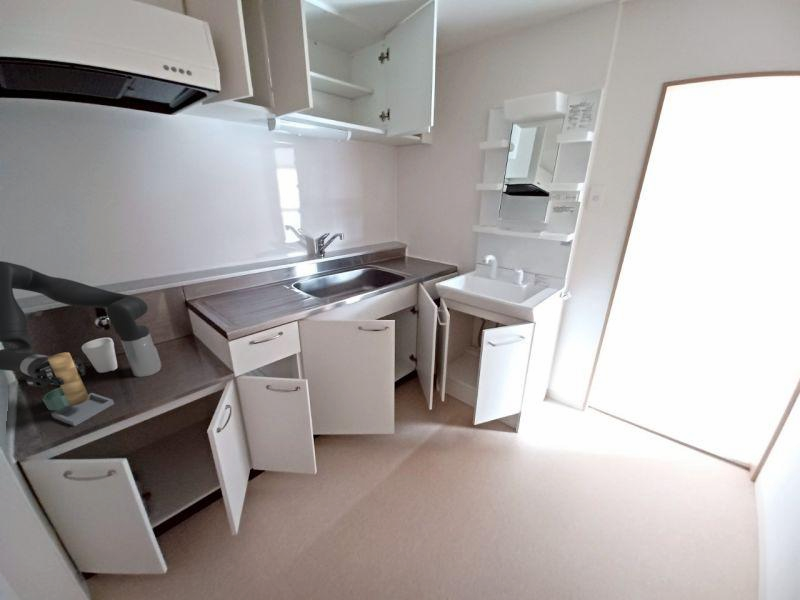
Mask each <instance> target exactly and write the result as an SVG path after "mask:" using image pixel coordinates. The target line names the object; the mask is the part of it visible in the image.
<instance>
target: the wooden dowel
mask: <svg viewBox="0 0 800 600" xmlns="http://www.w3.org/2000/svg"><path fill="white" fill-rule="evenodd" d="M48 361H49V363H50V365H51V367H52V369H53V372H54V374H55V376H56V377H58V378H61V379H62V380H63V382H64V384H63V385H59V386H60V388H62V390H63V392H64V395H65V397H66V399H67V401H68V403H69V405H78V404H81V403H83V402H85V401H87V400H88V399H89V396H88V395H89V394H88V391H87V389H86V387H85V384H84V382H83V381H82V378H81V375H79V373H78V371H77V369H76V366H75V364H74V362H73V361H74V359H73V358H72V355H71V353H70V352H60V353H59V352H58V353H56V354H54V355H53V354H52V355H50V356H49V358H48Z"/></svg>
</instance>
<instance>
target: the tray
mask: <svg viewBox="0 0 800 600" xmlns="http://www.w3.org/2000/svg"><path fill="white" fill-rule="evenodd" d="M88 396H89V399H88V400H87V401H85V402H83V403H81V404H78V405H67V406H65V407H63V408H61V409H59V410H54V412H53V411H52V413H50V414H51V417H52V418H53V419H55V420H58V421H60V422H63V423H66V424H68V425H71V426H74V427H76V426H78V425H79V424H82V423H83V422H85V421H86V420H88V419H90V418H92V417H93V416H95V415H97V414H99V413H101V412H103V411H104V410H106V409H108V408H110V407H111V406H113V405H114V404H115V402H114V399H112V398H109V397H106V396H103V395H99V394H97V393H94V392H90V393H89V394H88Z"/></svg>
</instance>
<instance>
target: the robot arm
mask: <svg viewBox="0 0 800 600" xmlns="http://www.w3.org/2000/svg"><path fill="white" fill-rule="evenodd" d="M13 289H14V290H22V291H29V292H34V293H37V294H41V295H43V296H45V297H47V298H49V299H50V300H53V301H54V302H56V303H57V302H58V303H61V304H64V305H68V306H72V307H79V308H106V314H107V317H108V320H109V323H111V327H112V329H113V330H114V332H115V334H116V335H117V336H118V337H119V338H120V339H119V340H120V341H121V344H122V347H123V349H124V351H125V355H126V357H127V361H128V364H129V366H130V369H131V370H132V373H133V376H135V377H138V378H140V377H141V378H142V377H146V376H149V377H150V376H153V375H154V374H156V373H158V372H159V371H160V370H161V368H162V362H161V358H160V355H159V352H158V348H157V346H155V345H154V342H153V339H152V335H151V333H150V330H149V328H148V326H146V325H143V324H141V325H140V324H138V325H137V322H136V320H138V319H140V318H141V317H143V316H144V315H145V314H146V313H147V312H148V309H149V308H148V304H147V303H146V302H145V301H144V300H143V299H141V298H140V297H137V296H134V295H129V294H126V293H119V292H113V291H109V290H106V289H103V288H98V287H95V286H92V285H88V284H85V283H82V282H79V281H75V280H72V279H67V278H62V277H55V276H50V275H48V274H45V273H42V272H40V271H37V270H35V269H32V268H30V267H27V266H25V265H22V264H21V265H20V264H17V263H14V262H13V263H12V262H8V261H2V260H1V261H0V343H7V344H13V345H15V346H16V347H15V348H13V347H12V348H2V349H0V370H1V371H12V372H19V373H23V374H25V375H27V376H28V378H26V379H25V380H26V382H27V385H28V386H29V387H37V388H39V387H40V388H46V387H47V386H49V385H55V386H60V385H63V384H64V382H63V380H62V379H61V378H58V377H56V376H55V374H54V372H53V369H52V367H51V365H50V363H49V361H48V358H49V357H50V356H49V355H45V354H44V355H43V354H39V353H38V352H37V349H36V348H35V346H34V345H33V343H32V342H33V341H32V340H31V338H30V335H29V325H28V319H27V316H26V314H25V312H24V310H23V309H22V307H21V306H20V305H19V303H18V301H17V300H16V298H15V295H14V292H13ZM73 362H74V364H75V366H76V369H77V371H78V373H79V376H80V377H83V376H85V375H86V367H85V364H84V362H83V361H82V360H81V359H80V358H78V357H77V358H74V359H73Z"/></svg>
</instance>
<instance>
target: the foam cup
mask: <svg viewBox="0 0 800 600" xmlns="http://www.w3.org/2000/svg"><path fill="white" fill-rule="evenodd" d="M81 350H82V352H83V354H85V356H86V357H87V358H88V360H89V361H90V363H91V364H92V366H93V368H94V369H95V371H96V372H98V373H100V374H102V373H108V372H110V371H112V372H113V371H115V370H116V369H118V361H117V356H116V351H115V343H114V340H113V339H112V338H111V337H101V338H96V339H92V340H90V341H88V342H85V343H83V344H82V346H81Z"/></svg>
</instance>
